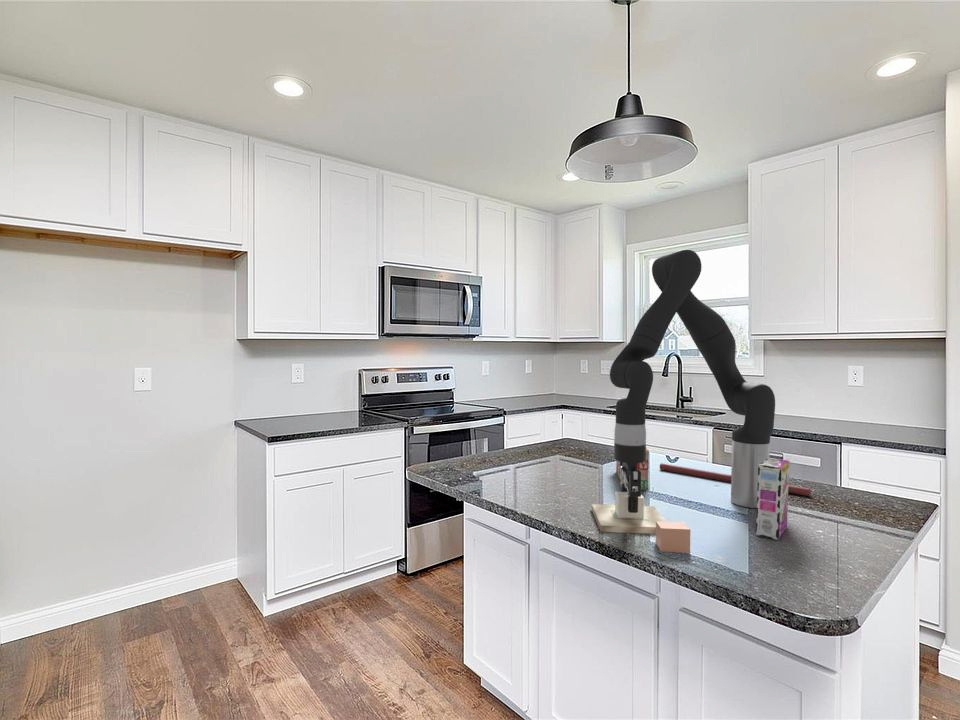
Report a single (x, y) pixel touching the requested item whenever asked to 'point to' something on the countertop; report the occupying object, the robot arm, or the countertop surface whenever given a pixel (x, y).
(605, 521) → the ash board
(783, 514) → the candy bar box
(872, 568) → the countertop surface
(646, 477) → the stack of blocks
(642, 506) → the cream brick
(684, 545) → the terracotta brick
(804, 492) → the rolling pin
